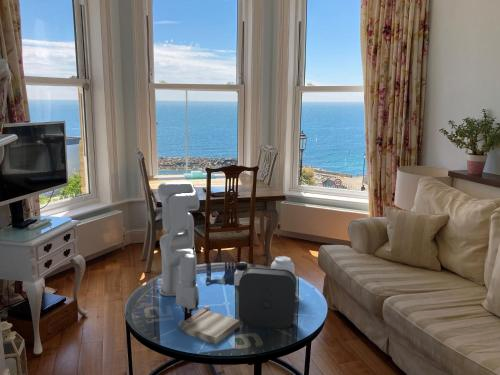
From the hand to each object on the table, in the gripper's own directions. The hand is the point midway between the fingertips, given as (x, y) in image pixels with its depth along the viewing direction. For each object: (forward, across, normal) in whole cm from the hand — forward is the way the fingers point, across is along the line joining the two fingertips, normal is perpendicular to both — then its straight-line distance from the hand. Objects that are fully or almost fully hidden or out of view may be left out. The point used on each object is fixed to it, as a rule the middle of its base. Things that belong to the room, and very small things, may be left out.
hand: (187, 319), depth 199 cm
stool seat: (+1, +11, 0) cm, 11 cm away
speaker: (+1, +30, +18) cm, 36 cm away
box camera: (+2, -4, +51) cm, 51 cm away
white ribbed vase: (+2, +21, +52) cm, 56 cm away
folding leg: (+1, +3, +4) cm, 5 cm away
